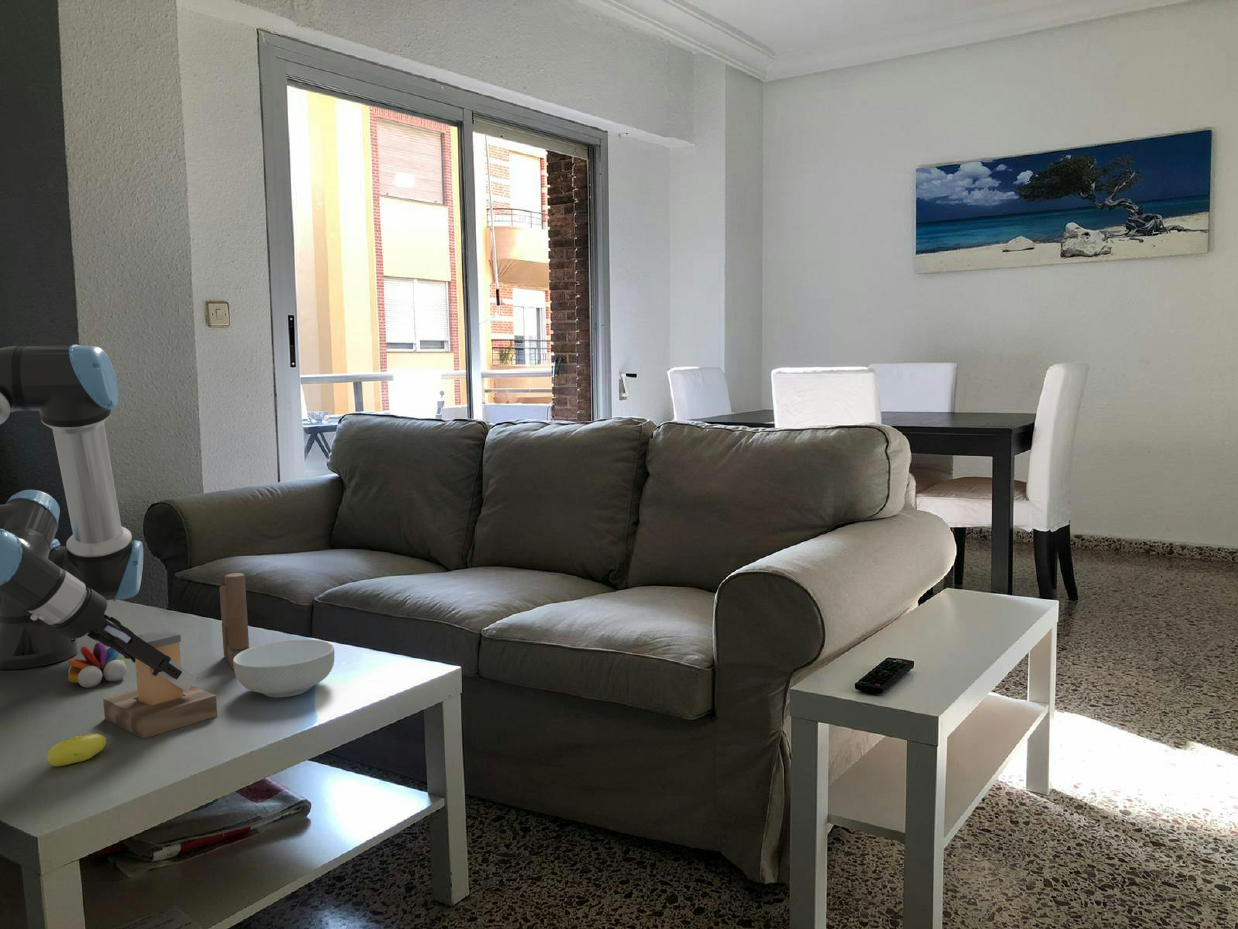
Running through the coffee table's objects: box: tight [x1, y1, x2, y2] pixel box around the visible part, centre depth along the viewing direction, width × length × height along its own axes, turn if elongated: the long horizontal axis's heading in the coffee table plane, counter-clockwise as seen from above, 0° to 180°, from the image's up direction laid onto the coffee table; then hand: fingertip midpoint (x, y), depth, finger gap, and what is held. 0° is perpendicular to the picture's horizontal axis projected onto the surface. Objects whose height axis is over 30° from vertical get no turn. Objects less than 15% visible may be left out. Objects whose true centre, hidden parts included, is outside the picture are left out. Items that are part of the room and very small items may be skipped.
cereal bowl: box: [233, 638, 335, 699], centre depth 171 cm, size 17×17×7 cm
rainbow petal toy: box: [67, 641, 128, 689], centre depth 178 cm, size 8×10×7 cm
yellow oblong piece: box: [46, 733, 107, 767], centre depth 142 cm, size 4×8×4 cm, turn 134°
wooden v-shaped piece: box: [219, 572, 251, 671], centre depth 187 cm, size 4×11×18 cm, turn 31°
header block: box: [102, 685, 218, 740], centre depth 159 cm, size 14×12×4 cm
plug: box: [135, 628, 183, 706], centre depth 158 cm, size 5×5×14 cm
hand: (182, 680), depth 161 cm, fingers closed on plug, 5 cm apart
